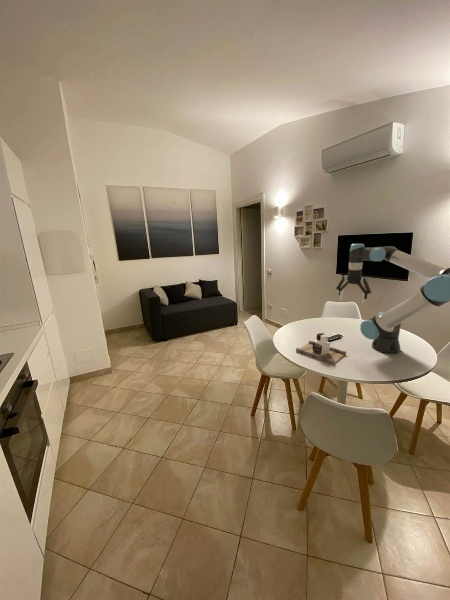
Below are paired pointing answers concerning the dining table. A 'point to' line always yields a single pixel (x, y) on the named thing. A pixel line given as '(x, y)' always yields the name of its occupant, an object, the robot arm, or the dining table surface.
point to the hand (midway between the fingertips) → (351, 302)
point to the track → (330, 358)
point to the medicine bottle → (321, 344)
